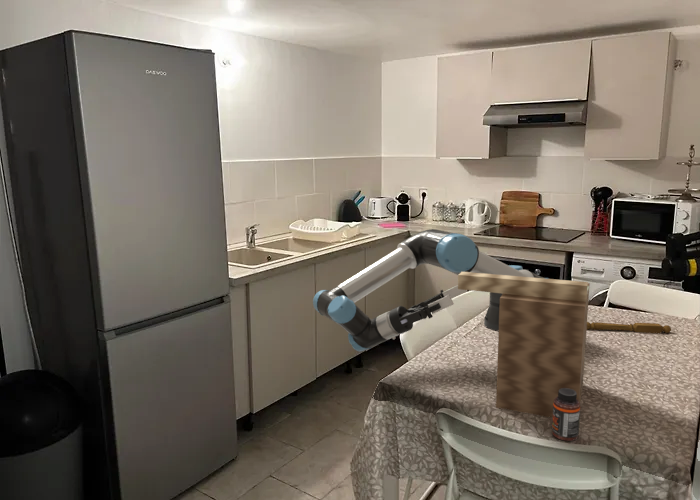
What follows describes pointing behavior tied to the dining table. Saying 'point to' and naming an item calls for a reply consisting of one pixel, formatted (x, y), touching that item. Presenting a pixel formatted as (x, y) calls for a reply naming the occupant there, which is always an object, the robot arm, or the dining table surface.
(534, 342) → the brown wavy patterned box
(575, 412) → the supplement bottle
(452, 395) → the dining table surface
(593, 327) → the wooden spindle
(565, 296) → the beech bar
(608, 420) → the dining table surface
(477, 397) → the dining table surface
